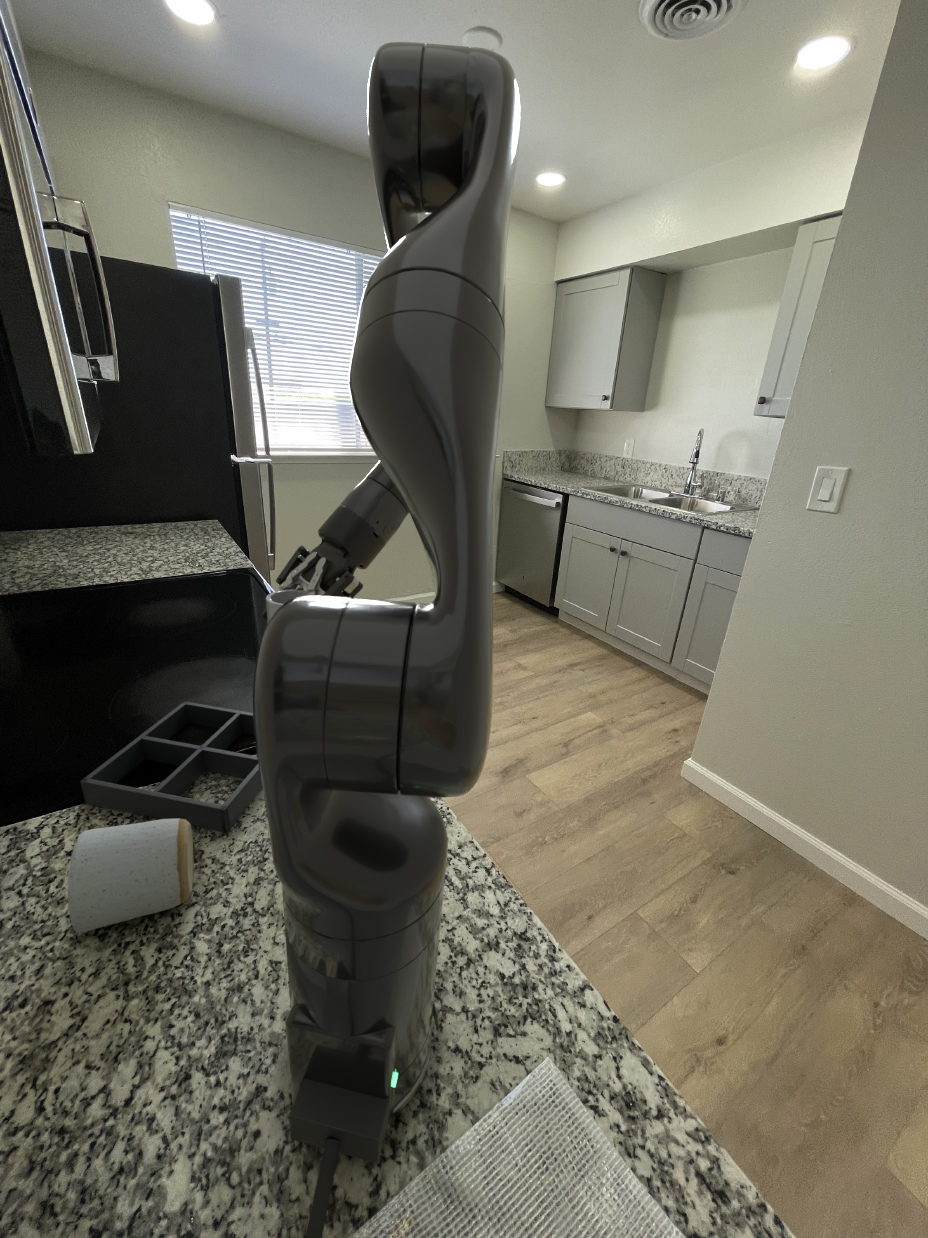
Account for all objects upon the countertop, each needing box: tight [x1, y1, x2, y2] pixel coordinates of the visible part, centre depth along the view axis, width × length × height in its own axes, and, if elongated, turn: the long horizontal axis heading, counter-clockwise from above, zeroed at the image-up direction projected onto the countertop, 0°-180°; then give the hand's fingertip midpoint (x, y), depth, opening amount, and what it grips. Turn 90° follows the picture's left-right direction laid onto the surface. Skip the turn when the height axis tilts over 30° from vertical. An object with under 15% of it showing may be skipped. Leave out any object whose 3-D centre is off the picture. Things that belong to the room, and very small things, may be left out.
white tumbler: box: [265, 588, 308, 624], centre depth 63 cm, size 5×5×8 cm
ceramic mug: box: [67, 819, 194, 934], centre depth 44 cm, size 11×8×8 cm
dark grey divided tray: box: [79, 700, 263, 833], centre depth 60 cm, size 16×16×3 cm
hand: (277, 628), depth 62 cm, fingers closed on white tumbler, 5 cm apart
